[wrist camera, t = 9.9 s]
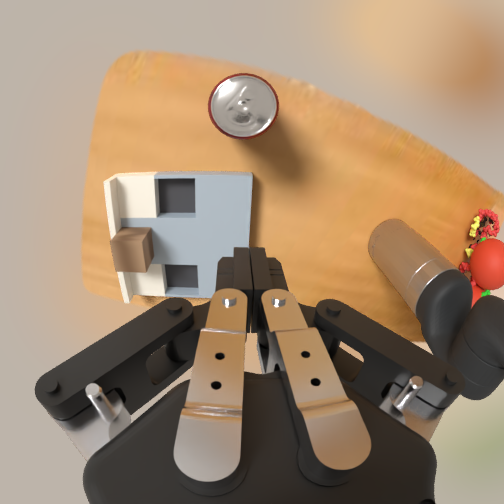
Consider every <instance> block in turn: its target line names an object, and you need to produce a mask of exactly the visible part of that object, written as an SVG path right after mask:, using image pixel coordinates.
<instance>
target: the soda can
mask: <svg viewBox="0 0 504 504" xmlns="http://www.w3.org/2000/svg"><path fill="white" fill-rule="evenodd" d="M208 112H209V116H210V119H211V121H212V123H213V124H214V126H215V127H216V128H217V129H218V130H219V131H220V132H221V133H223V134H225V135H226V136H228V137H231V138H234V139H241V140H242V139H252V138H255V137H258V136H260V135H262V134H264V133H265V132H267V131H268V130H269V129H270V128H271V127H272V125H273V124H274V122H275V121H276V118H277V116H278V112H279V101H278V96H277V94H276V92H275V90H274V88H273V87H272V86H271V85H270V84H269V83H268V82H267V81H266V80H265V79H263V78H261V77H259V76H257V75H254V74H249V73H239V74H234V75H231V76H228V77H226V78H225V79H223V80H221V81H220V82H219V83H218V84H217V85H216V86H215V87H214V89H213V90H212V92H211V95H210V97H209V101H208Z"/></svg>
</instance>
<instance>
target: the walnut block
mask: <svg viewBox="0 0 504 504" xmlns="http://www.w3.org/2000/svg"><path fill="white" fill-rule="evenodd" d="M110 245H111V250H112V256H113V261H114V266H115V270H116V272H137V273H146V272H147V270H148V268H149V266H150V264H151V262H152V260H153V258H154V250H153V241H152V231H151V227H121V229H120V230H119V231H118V232H117V233H116V235H115V236H114V237H113V238H112V239H111V241H110Z"/></svg>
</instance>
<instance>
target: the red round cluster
mask: <svg viewBox="0 0 504 504" xmlns="http://www.w3.org/2000/svg"><path fill="white" fill-rule="evenodd" d="M487 216H488V217H489V224H493V223H494V222H495V223H494V225H493V226H492V227H493V228H494V231H491V228H490V225H488V226H487V227H484V228H483V231H482V232H481V231H480V230H479V228H480V227H483V226H485V223H486V221H487V218H486V217H487ZM483 218H484V221H483V220H482V219H483ZM497 218H498V215H497V214H495V213H493V212H491V210H488V209H485V210H481V209H479V215H477V217H475V218H474V221H475V223H474V224H471V227H472V228H471V229H470V233H469V235H470V236H472V237H476V236H477V235H478V234H479V235H481V236H480V239H481V241H480V243H479V244H478V241H479V240H477V243H475V244H474V245H472V244H471V245H470V246H469V249H468V248H466V249H465V251H466V252H467V255H468V258H470V264H469V263H468V262H466V263H464V262H462V263H461V264H460V267H459V268H460V271H461V272H462V273H463V274H464V272H465V270H467V271H470V272H471V274H472V276H471V278H470V279H471V280H470V283H471V285H472V288H473V299H472V307H473V305H474V304H475V302H476V301H477V300H478V299H479V298H481V297H482V296H486V295H490V290H495V289H498V288H500V287H502V286H503V285H504V243H503V242H502V241H500V240H497V239H494V238H492V239H487V232H488V234H489V235H490V236H492V235H494V237H496V236H497V234H496V233H498V232H499V221H498V219H497ZM482 221H483V222H482ZM493 221H494V222H493ZM479 224H480V225H479ZM481 225H482V226H481ZM490 236H489V237H490ZM474 239H475V238H474ZM474 239H473V240H474ZM471 253H472V254H471Z"/></svg>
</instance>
